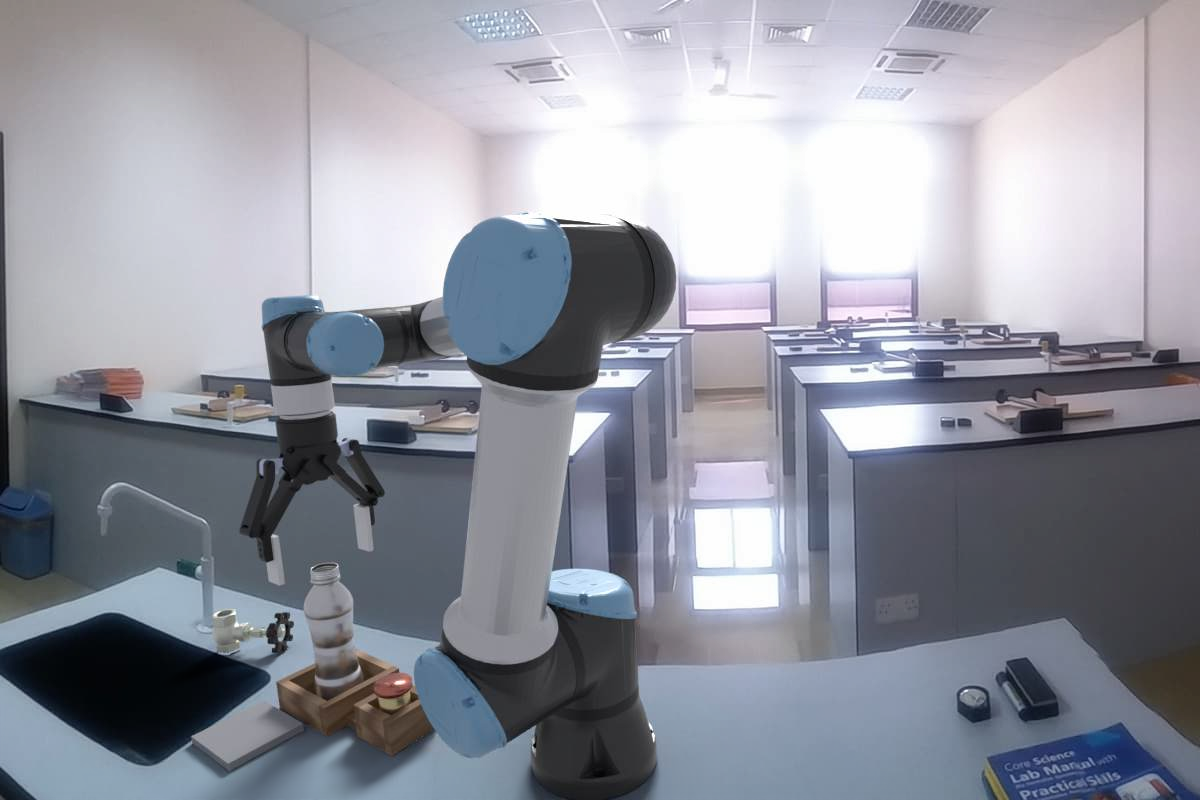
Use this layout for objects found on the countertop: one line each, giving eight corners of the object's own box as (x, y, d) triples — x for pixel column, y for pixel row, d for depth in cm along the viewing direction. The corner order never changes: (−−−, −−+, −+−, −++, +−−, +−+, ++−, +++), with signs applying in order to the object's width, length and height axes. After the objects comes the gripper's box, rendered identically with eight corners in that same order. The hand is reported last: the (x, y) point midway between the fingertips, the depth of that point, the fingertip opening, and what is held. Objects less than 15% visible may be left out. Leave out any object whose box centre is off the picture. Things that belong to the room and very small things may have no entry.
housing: (451, 718, 103) (448, 687, 102) (377, 765, 94) (373, 732, 93) (353, 670, 117) (349, 643, 116) (279, 707, 108) (275, 678, 107)
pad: (303, 730, 102) (302, 723, 102) (229, 771, 94) (228, 763, 94) (265, 706, 108) (264, 700, 108) (192, 743, 101) (191, 736, 100)
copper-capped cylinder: (424, 725, 101) (419, 679, 100) (394, 744, 97) (388, 696, 96) (401, 714, 104) (396, 669, 103) (371, 731, 100) (365, 685, 99)
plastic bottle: (351, 715, 105) (334, 577, 101) (306, 712, 106) (288, 576, 103) (374, 690, 111) (358, 559, 108) (331, 687, 112) (315, 558, 109)
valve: (205, 661, 123) (275, 661, 121) (199, 622, 122) (270, 622, 120) (229, 641, 129) (296, 641, 128) (223, 604, 128) (291, 604, 127)
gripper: (368, 395, 113) (383, 532, 117) (195, 429, 94) (219, 591, 98) (400, 399, 109) (414, 541, 113) (225, 435, 90) (249, 605, 93)
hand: (323, 565), depth 105 cm, fingers open, 13 cm apart
